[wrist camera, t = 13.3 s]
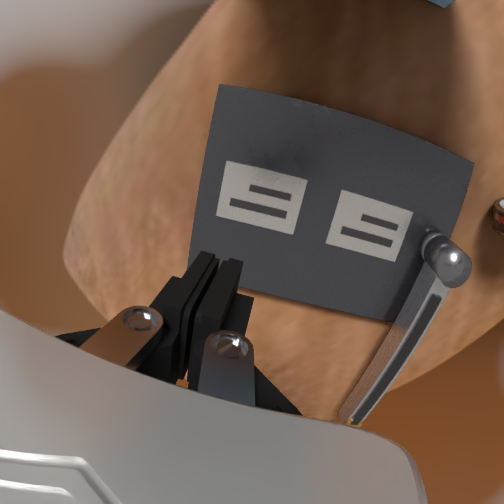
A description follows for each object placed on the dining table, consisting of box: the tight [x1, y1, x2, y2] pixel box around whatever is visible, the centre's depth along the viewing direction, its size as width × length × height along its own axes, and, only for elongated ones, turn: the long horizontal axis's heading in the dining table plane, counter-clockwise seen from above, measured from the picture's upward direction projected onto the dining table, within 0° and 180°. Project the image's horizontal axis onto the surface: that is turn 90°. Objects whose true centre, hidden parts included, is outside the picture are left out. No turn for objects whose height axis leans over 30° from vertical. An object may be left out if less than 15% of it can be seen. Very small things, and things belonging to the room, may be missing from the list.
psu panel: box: [187, 84, 475, 322], centre depth 27 cm, size 24×18×2 cm
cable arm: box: [339, 235, 472, 428], centre depth 27 cm, size 24×3×4 cm, turn 166°
